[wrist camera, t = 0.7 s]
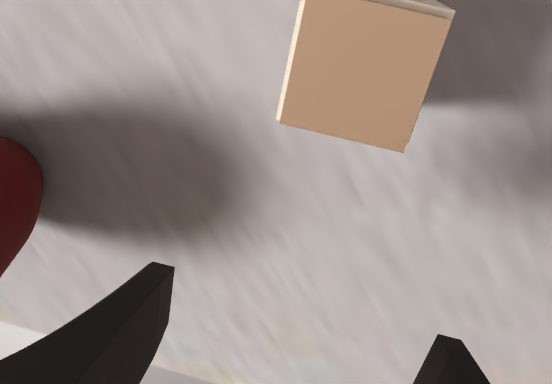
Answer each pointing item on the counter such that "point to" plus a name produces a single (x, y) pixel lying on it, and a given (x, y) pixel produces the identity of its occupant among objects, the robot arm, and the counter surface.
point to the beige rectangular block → (362, 67)
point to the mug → (17, 198)
